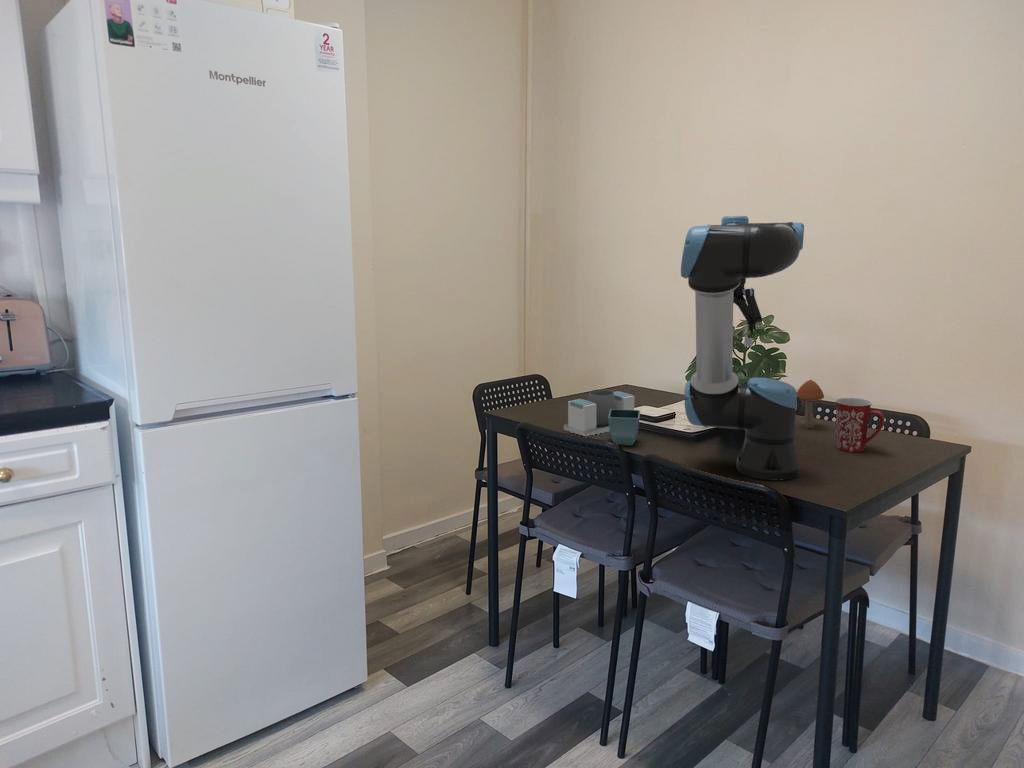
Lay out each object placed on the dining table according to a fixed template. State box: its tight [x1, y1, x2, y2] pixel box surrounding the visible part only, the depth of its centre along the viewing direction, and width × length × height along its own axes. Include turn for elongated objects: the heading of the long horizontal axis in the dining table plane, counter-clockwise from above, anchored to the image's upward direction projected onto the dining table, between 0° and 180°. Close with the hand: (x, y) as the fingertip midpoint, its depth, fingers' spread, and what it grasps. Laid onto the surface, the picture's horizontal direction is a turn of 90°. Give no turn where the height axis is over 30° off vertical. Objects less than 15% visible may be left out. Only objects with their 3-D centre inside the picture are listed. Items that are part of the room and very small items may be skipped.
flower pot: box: [608, 409, 641, 446], centre depth 204 cm, size 9×9×9 cm
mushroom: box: [796, 379, 825, 429], centre depth 214 cm, size 8×8×15 cm
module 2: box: [613, 390, 635, 410], centre depth 224 cm, size 8×5×8 cm, turn 34°
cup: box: [587, 388, 616, 426], centre depth 220 cm, size 10×9×10 cm
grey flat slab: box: [563, 423, 610, 437], centre depth 221 cm, size 10×22×2 cm, turn 124°
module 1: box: [567, 398, 596, 432], centre depth 216 cm, size 8×5×8 cm, turn 34°
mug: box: [835, 397, 885, 453], centre depth 193 cm, size 13×9×14 cm
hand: (729, 343), depth 210 cm, fingers open, 13 cm apart
